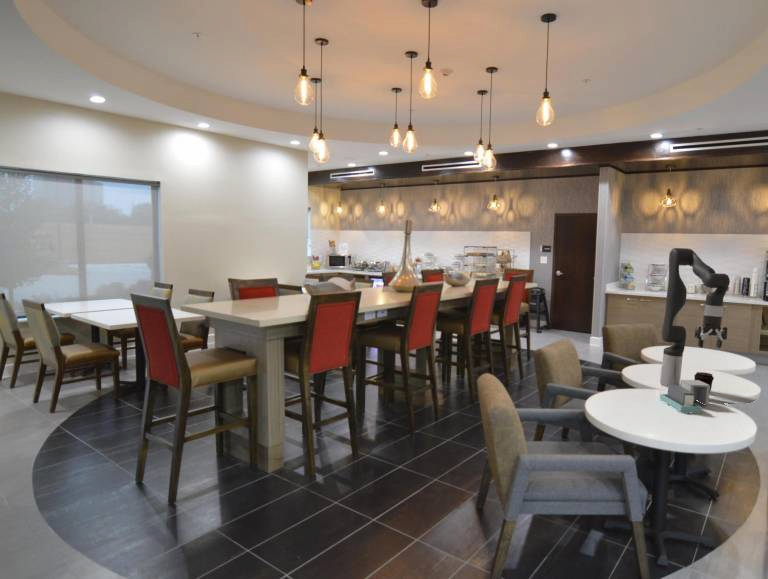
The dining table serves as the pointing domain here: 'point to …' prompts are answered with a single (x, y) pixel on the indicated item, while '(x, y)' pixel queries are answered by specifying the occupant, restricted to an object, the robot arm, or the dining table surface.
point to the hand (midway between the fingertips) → (709, 347)
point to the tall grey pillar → (681, 395)
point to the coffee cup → (704, 378)
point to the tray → (679, 407)
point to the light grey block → (697, 389)
